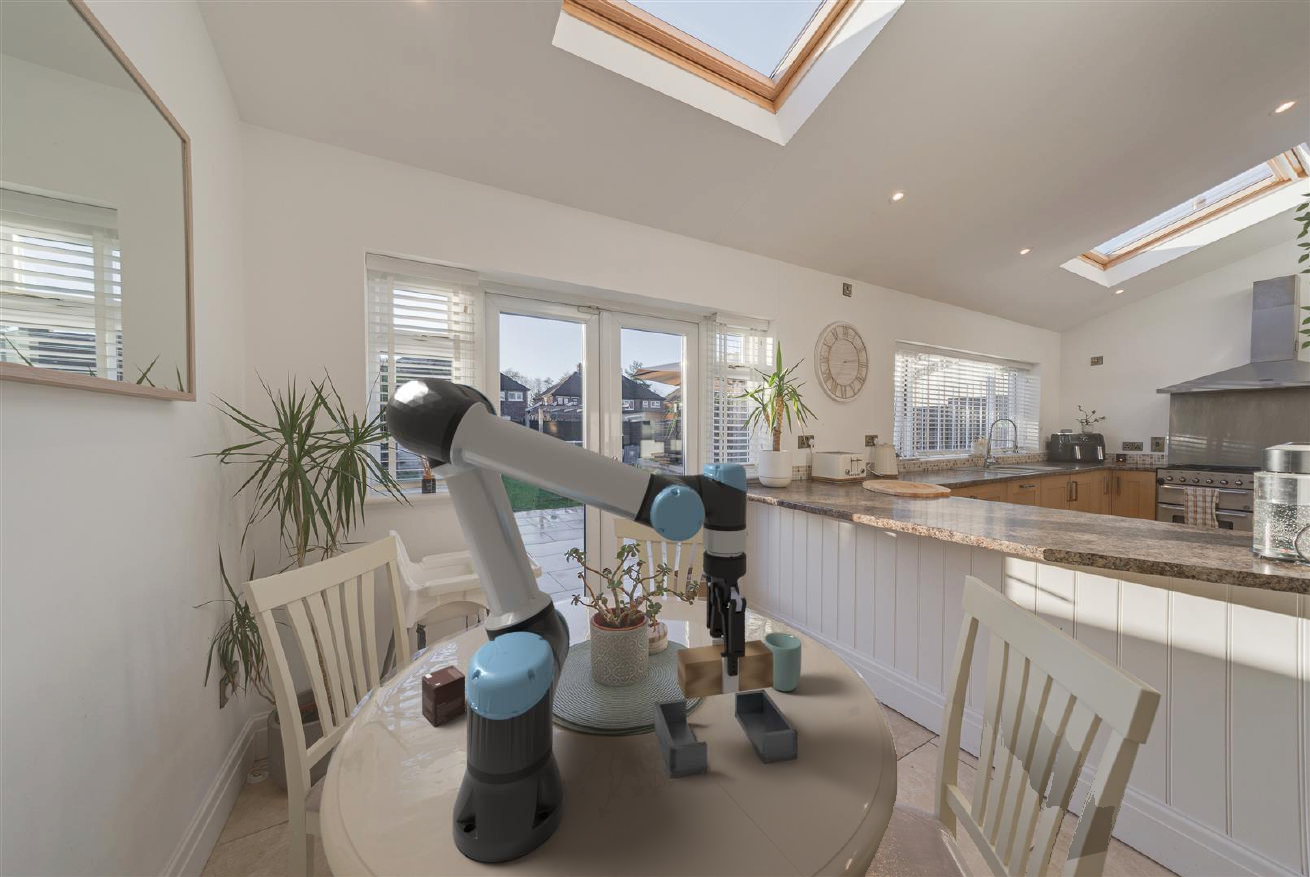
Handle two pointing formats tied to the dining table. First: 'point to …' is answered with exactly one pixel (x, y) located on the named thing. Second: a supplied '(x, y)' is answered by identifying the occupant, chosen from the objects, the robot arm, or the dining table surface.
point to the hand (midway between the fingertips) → (724, 682)
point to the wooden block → (705, 669)
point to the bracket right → (766, 726)
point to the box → (443, 695)
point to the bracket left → (678, 740)
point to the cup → (785, 660)
